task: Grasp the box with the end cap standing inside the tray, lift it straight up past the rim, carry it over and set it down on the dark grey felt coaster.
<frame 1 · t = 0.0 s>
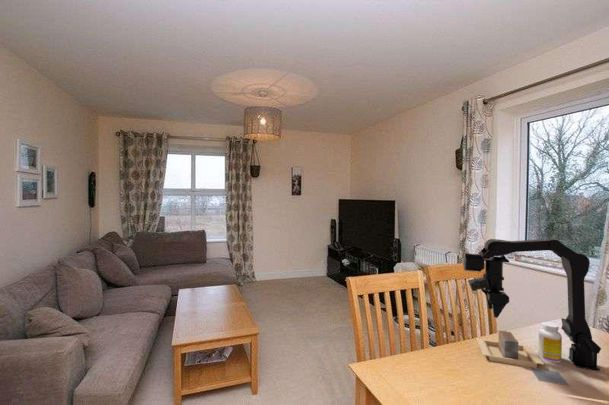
hand: (493, 313, 119), 15 cm above the table, fingers open, 9 cm apart
supplement bottle: (549, 359, 114), on the table
tray: (507, 356, 115), on the table
coaster: (548, 377, 102), on the table
box: (507, 354, 115), point 1 cm above the table, touching tray
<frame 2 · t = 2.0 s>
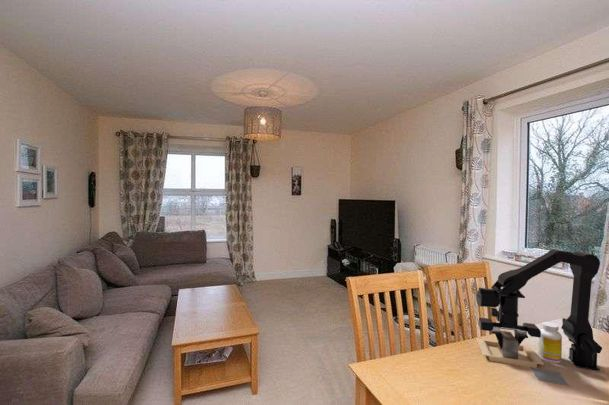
hand: (507, 349, 115), 3 cm above the table, fingers closed on box, 4 cm apart
box: (507, 354, 115), point 1 cm above the table, touching tray, gripper
everything else where it was.
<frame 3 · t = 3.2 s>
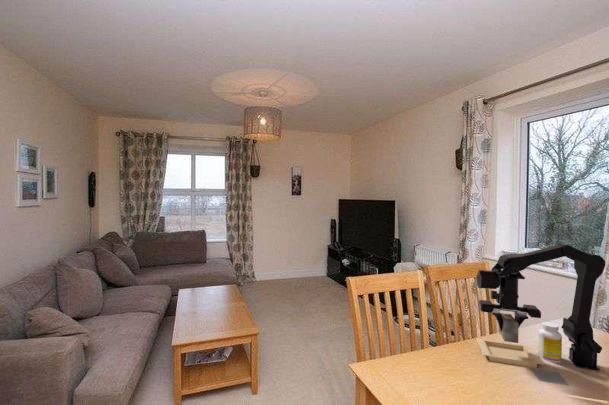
hand: (507, 331, 115), 9 cm above the table, fingers closed on box, 4 cm apart
box: (507, 336, 115), point 7 cm above the table, touching gripper
everything else where it was.
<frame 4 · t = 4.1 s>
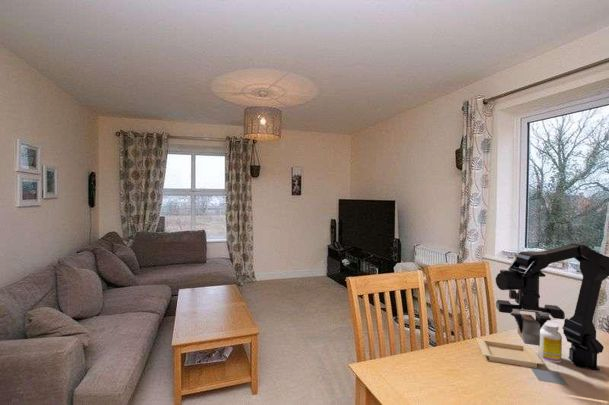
hand: (528, 333, 108), 12 cm above the table, fingers closed on box, 4 cm apart
box: (528, 338, 108), point 10 cm above the table, touching gripper
everything else where it was.
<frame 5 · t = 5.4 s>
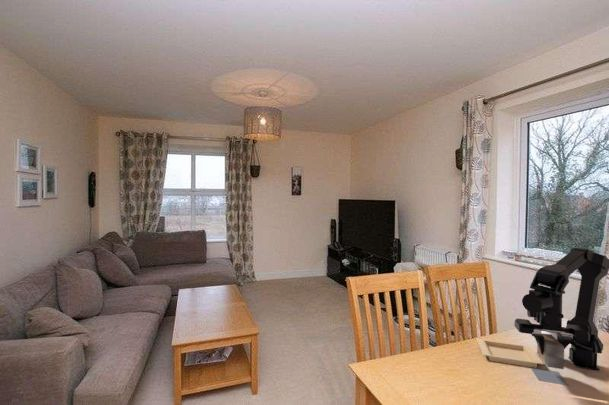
hand: (549, 354, 102), 8 cm above the table, fingers closed on box, 4 cm apart
box: (549, 360, 102), point 6 cm above the table, touching gripper
everything else where it was.
when the fingers open (4 cm above the table, at t = 6.4 s): box stays where it is, resting on tray, coaster.
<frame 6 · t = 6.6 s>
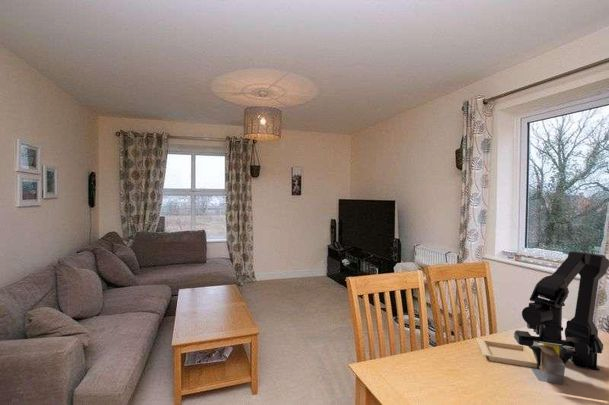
hand: (549, 367, 102), 4 cm above the table, fingers open, 5 cm apart
box: (548, 373, 102), point 1 cm above the table, tilted 12°, touching tray, coaster
everything else where it was.
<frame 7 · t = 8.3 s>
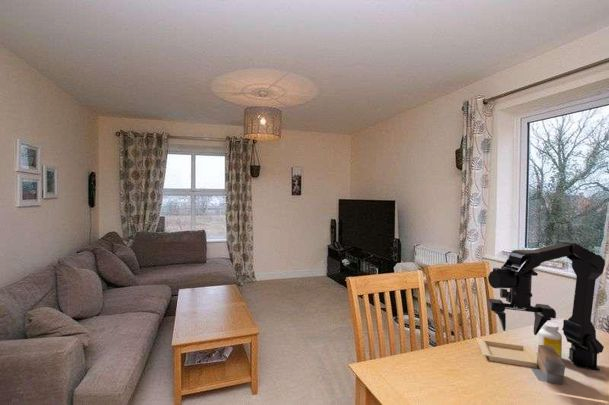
hand: (519, 332, 107), 12 cm above the table, fingers open, 9 cm apart
nothing on the table moved.
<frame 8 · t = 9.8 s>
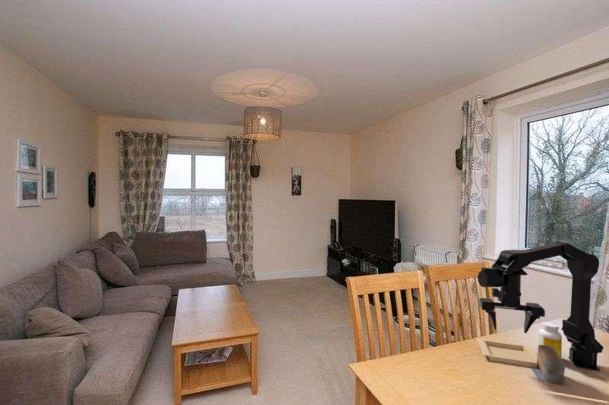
hand: (509, 330, 110), 12 cm above the table, fingers open, 9 cm apart
nothing on the table moved.
at the end: box 0.2 cm from the coaster (horizontally); box tilted 12°; the gripper is holding nothing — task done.
